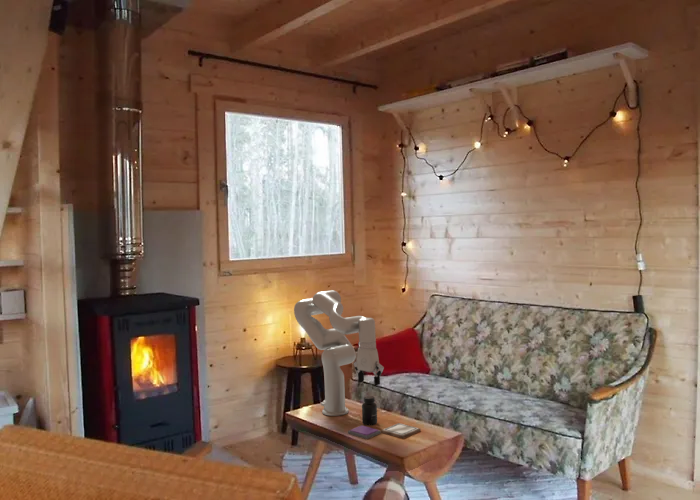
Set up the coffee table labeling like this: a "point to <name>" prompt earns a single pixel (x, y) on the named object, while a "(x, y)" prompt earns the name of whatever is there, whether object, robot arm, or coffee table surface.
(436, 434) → the coffee table surface
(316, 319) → the robot arm
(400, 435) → the white square tile
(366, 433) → the ink pad
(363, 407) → the supplement bottle
